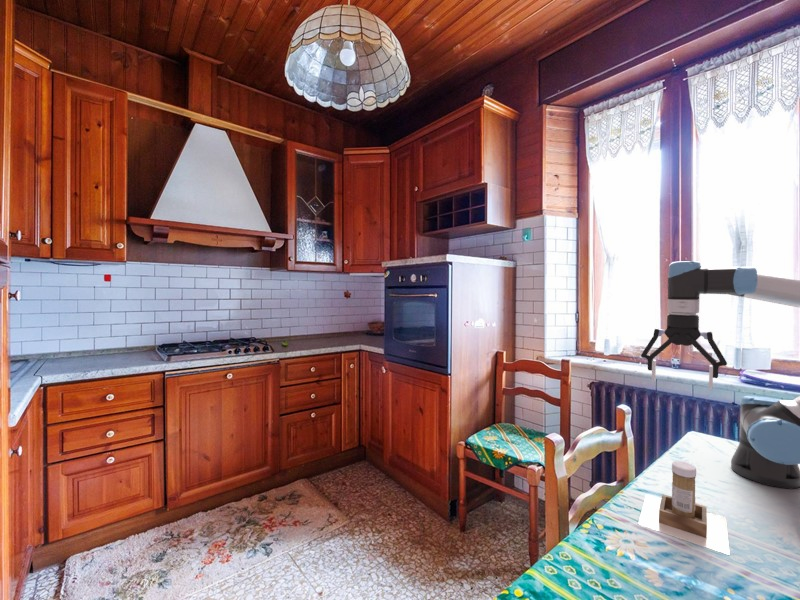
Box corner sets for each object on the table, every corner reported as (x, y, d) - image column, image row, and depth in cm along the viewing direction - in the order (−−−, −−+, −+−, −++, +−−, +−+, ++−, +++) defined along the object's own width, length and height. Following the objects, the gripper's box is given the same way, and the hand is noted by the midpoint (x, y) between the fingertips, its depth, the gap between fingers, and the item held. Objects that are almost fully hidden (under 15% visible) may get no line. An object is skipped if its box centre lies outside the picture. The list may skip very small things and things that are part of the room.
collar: (706, 519, 89) (706, 506, 88) (706, 538, 82) (706, 524, 82) (662, 505, 94) (662, 494, 94) (658, 522, 87) (659, 510, 87)
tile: (726, 521, 89) (726, 517, 89) (729, 560, 77) (729, 555, 77) (646, 497, 99) (646, 494, 99) (638, 528, 87) (638, 524, 87)
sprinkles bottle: (698, 522, 87) (699, 466, 87) (690, 529, 85) (691, 471, 84) (675, 512, 91) (676, 458, 91) (667, 519, 89) (668, 463, 88)
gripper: (631, 312, 116) (630, 380, 116) (740, 316, 100) (738, 395, 101) (635, 311, 121) (633, 376, 122) (738, 314, 106) (736, 389, 107)
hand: (680, 384), depth 111 cm, fingers open, 13 cm apart
